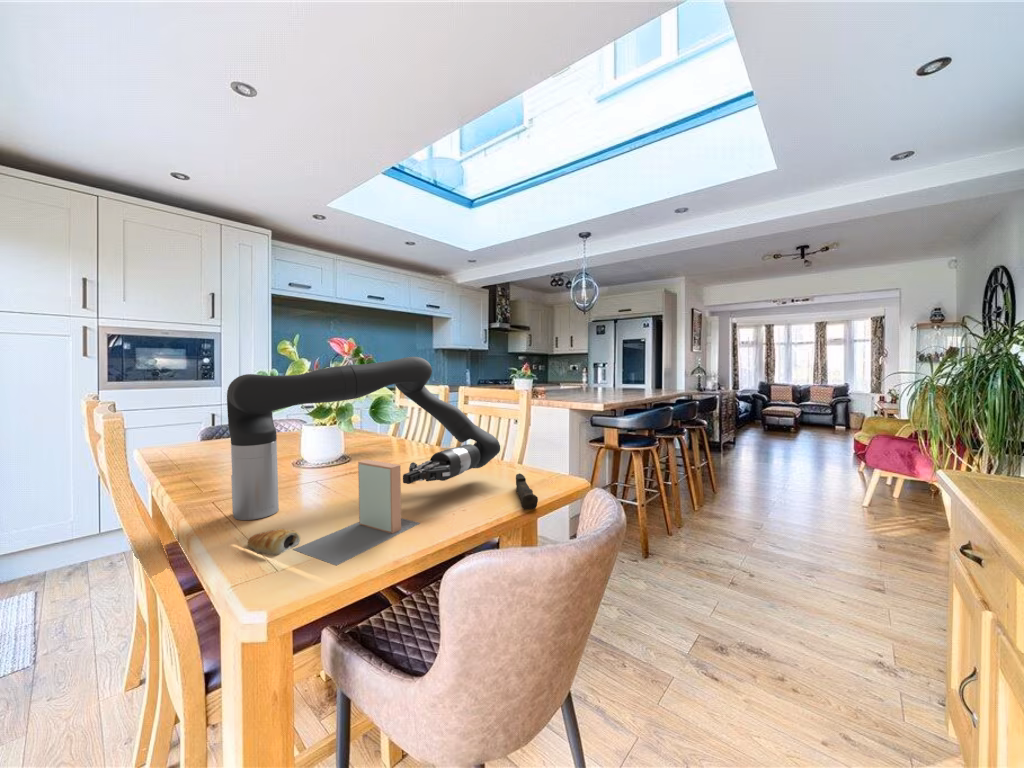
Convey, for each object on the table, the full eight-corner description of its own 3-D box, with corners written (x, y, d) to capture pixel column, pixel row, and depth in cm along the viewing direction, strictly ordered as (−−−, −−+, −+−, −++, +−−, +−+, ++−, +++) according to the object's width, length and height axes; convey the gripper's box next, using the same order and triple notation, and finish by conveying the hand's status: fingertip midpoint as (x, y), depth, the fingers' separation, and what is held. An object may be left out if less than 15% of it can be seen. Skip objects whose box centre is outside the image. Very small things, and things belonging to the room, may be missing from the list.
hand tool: (538, 510, 103) (538, 492, 102) (521, 510, 102) (522, 492, 102) (527, 487, 121) (527, 471, 121) (514, 487, 121) (514, 471, 121)
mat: (292, 551, 79) (292, 549, 79) (380, 514, 99) (380, 512, 99) (336, 567, 73) (336, 565, 73) (420, 524, 93) (420, 523, 93)
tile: (358, 524, 92) (357, 462, 91) (368, 520, 94) (367, 459, 93) (391, 533, 87) (390, 467, 86) (401, 529, 89) (400, 465, 88)
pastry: (237, 553, 79) (236, 533, 79) (266, 539, 86) (265, 521, 85) (278, 559, 77) (278, 539, 77) (304, 544, 83) (304, 525, 83)
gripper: (431, 446, 115) (384, 460, 100) (470, 451, 109) (426, 467, 93) (431, 473, 115) (384, 491, 100) (471, 480, 109) (427, 499, 94)
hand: (405, 479), depth 97 cm, fingers closed
